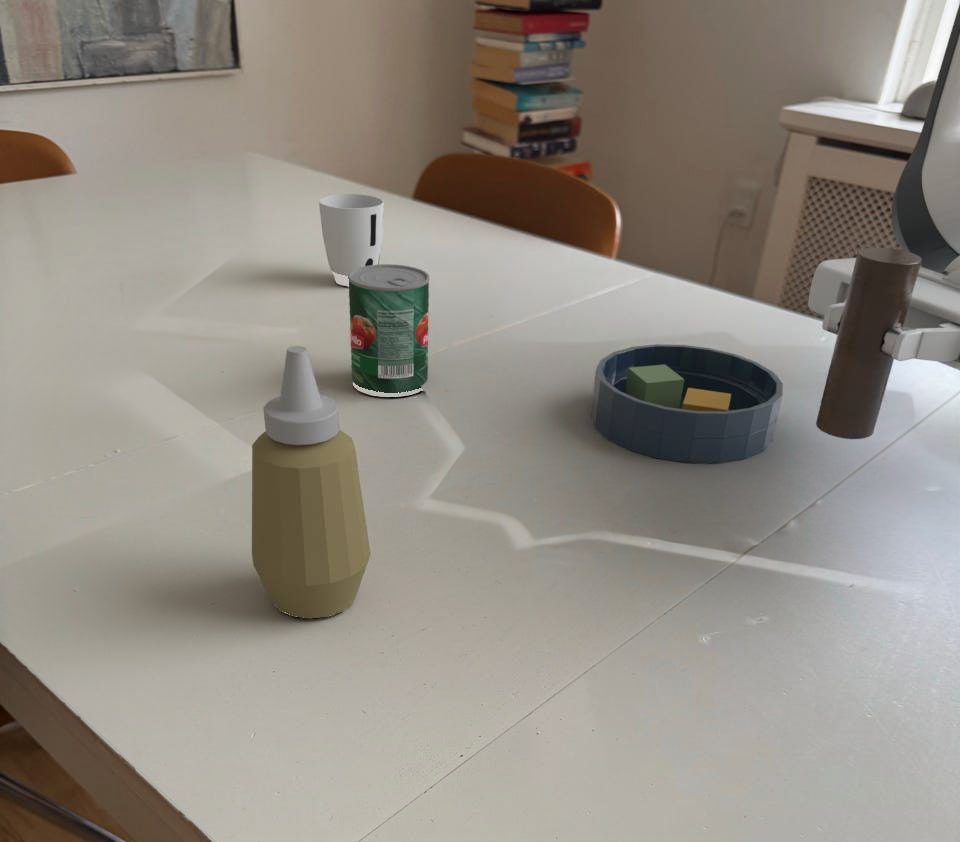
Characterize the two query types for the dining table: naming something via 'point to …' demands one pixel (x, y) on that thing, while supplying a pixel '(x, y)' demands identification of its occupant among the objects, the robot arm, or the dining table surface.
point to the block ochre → (706, 400)
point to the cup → (351, 230)
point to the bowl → (682, 429)
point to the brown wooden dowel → (866, 341)
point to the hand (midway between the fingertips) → (860, 333)
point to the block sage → (655, 385)
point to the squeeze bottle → (307, 500)
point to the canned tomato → (389, 327)
